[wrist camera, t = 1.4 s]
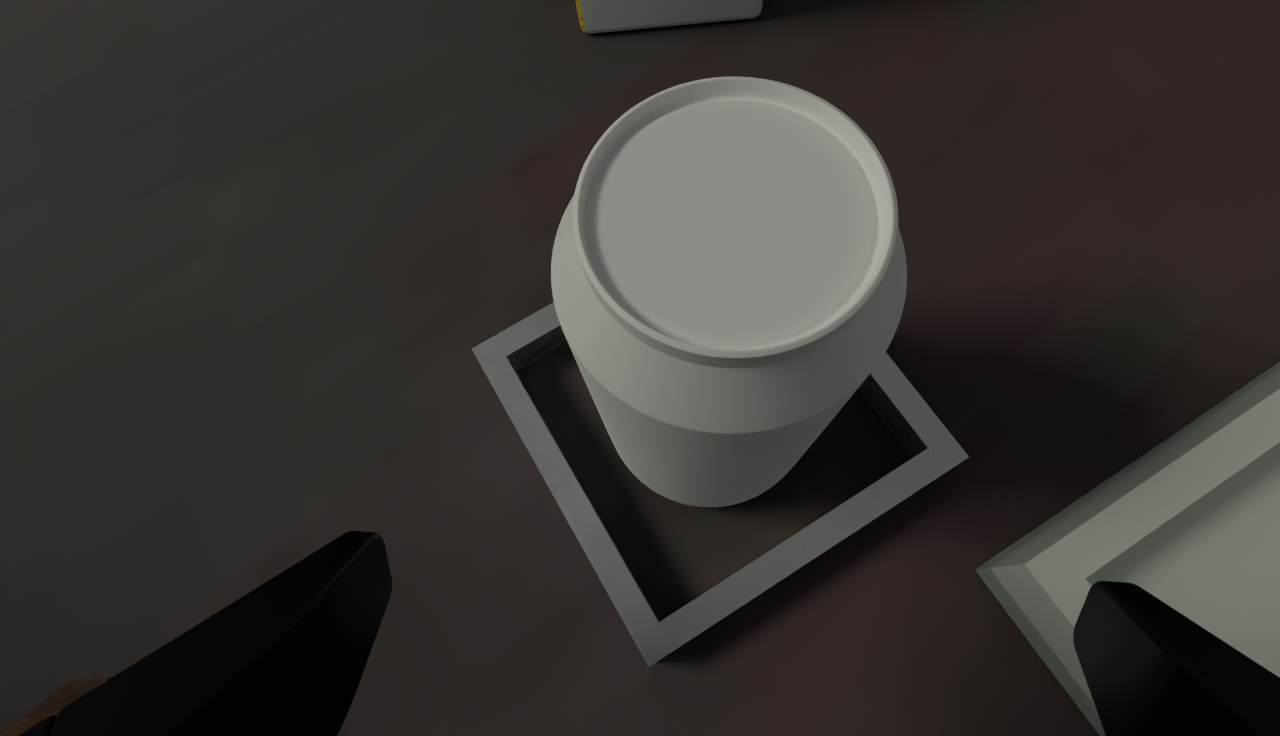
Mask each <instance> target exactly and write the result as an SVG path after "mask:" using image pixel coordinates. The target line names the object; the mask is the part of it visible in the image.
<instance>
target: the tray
mask: <svg viewBox="0 0 1280 736" xmlns="http://www.w3.org/2000/svg"><path fill="white" fill-rule="evenodd" d="M975 570H976V572H977V573H978V574H979V576H980V577H981V578H982V580H983V581H984V582H985V584H986V585H987V586H988V588H989V589H990V590H991V592H992V593H993V594H994V596H995V597H996V598H997V600H998V601H999V602H1000V604H1001V605H1002V606H1003V608H1004V609H1005V610H1006V612H1007V613H1008V614H1009V616H1010V617H1011V618H1012V620H1013V621H1014V622H1015V624H1016V625H1017V626H1018V628H1019V629H1020V630H1021V632H1022V633H1023V634H1024V636H1025V637H1026V638H1027V640H1028V641H1029V642H1030V644H1031V645H1032V646H1033V648H1034V649H1035V650H1036V652H1037V653H1038V654H1039V656H1040V657H1041V658H1042V660H1043V661H1044V662H1045V664H1046V665H1047V666H1048V668H1049V669H1050V670H1051V672H1052V673H1053V674H1054V676H1055V677H1056V678H1057V680H1058V681H1059V682H1060V684H1061V685H1062V686H1063V688H1064V689H1065V690H1066V692H1067V693H1068V694H1069V696H1070V697H1071V698H1072V700H1073V701H1074V702H1075V704H1076V705H1077V706H1078V708H1079V709H1080V710H1081V712H1082V713H1083V714H1084V715H1085V717H1086V718H1087V719H1088V721H1089V722H1090V723H1091V725H1092V726H1093V727H1094V729H1095V730H1096V731H1097V733H1098V734H1099V735H1100V736H1105V733H1104V730H1103V727H1102V724H1101V721H1100V719H1099V716H1098V713H1097V710H1096V707H1095V704H1094V702H1093V699H1092V696H1091V693H1090V690H1089V687H1088V685H1087V682H1086V679H1085V676H1084V673H1083V670H1082V668H1081V665H1080V662H1079V659H1078V656H1077V653H1076V650H1075V647H1074V641H1073V633H1074V627H1075V624H1076V622H1077V619H1078V617H1079V614H1080V612H1081V609H1082V607H1083V604H1084V602H1085V599H1086V597H1087V594H1088V592H1089V590H1090V588H1091V586H1092V585H1093V584H1094V583H1096V582H1098V581H1114V582H1128V583H1133V584H1135V585H1138V586H1139V587H1141V588H1143V589H1144V590H1146V591H1147V592H1149V593H1150V594H1152V595H1153V596H1155V597H1156V598H1158V599H1159V600H1161V601H1163V602H1164V603H1166V604H1167V605H1169V606H1170V607H1172V608H1173V609H1175V610H1176V611H1178V612H1179V613H1181V614H1183V615H1184V616H1186V617H1187V618H1189V619H1190V620H1192V621H1193V622H1195V623H1196V624H1198V625H1200V626H1201V627H1203V628H1204V629H1206V630H1207V631H1209V632H1210V633H1212V634H1213V635H1215V636H1216V637H1218V638H1220V639H1221V640H1223V641H1224V642H1226V643H1227V644H1229V645H1230V646H1232V647H1233V648H1235V649H1237V650H1238V651H1240V652H1241V653H1243V654H1244V655H1246V656H1247V657H1249V658H1250V659H1252V660H1253V661H1255V662H1257V663H1258V664H1260V665H1261V666H1263V667H1264V668H1266V669H1267V670H1269V671H1270V672H1272V673H1274V674H1275V675H1277V676H1278V677H1280V362H1279V363H1277V364H1276V365H1274V366H1273V367H1272V368H1270V369H1269V370H1267V371H1266V372H1264V373H1263V374H1261V375H1260V376H1258V377H1257V378H1255V379H1254V380H1252V381H1251V382H1250V383H1248V384H1247V385H1245V386H1244V387H1242V388H1241V389H1239V390H1238V391H1236V392H1235V393H1233V394H1232V395H1230V396H1229V397H1228V398H1226V399H1225V400H1223V401H1222V402H1220V403H1219V404H1217V405H1216V406H1214V407H1213V408H1211V409H1210V410H1208V411H1207V412H1206V413H1204V414H1203V415H1201V416H1200V417H1198V418H1197V419H1195V420H1194V421H1192V422H1191V423H1189V424H1188V425H1186V426H1185V427H1184V428H1182V429H1181V430H1179V431H1178V432H1176V433H1175V434H1173V435H1172V436H1170V437H1169V438H1167V439H1166V440H1164V441H1163V442H1162V443H1160V444H1159V445H1157V446H1156V447H1154V448H1153V449H1151V450H1150V451H1148V452H1147V453H1145V454H1144V455H1142V456H1141V457H1140V458H1138V459H1137V460H1135V461H1134V462H1132V463H1131V464H1129V465H1128V466H1126V467H1125V468H1123V469H1122V470H1120V471H1119V472H1118V473H1116V474H1115V475H1113V476H1112V477H1110V478H1109V479H1107V480H1106V481H1104V482H1103V483H1101V484H1100V485H1098V486H1097V487H1096V488H1094V489H1093V490H1091V491H1090V492H1088V493H1087V494H1085V495H1084V496H1082V497H1081V498H1079V499H1078V500H1076V501H1075V502H1074V503H1072V504H1071V505H1069V506H1068V507H1066V508H1065V509H1063V510H1062V511H1060V512H1059V513H1057V514H1056V515H1054V516H1053V517H1052V518H1050V519H1049V520H1047V521H1046V522H1044V523H1043V524H1041V525H1040V526H1038V527H1037V528H1035V529H1034V530H1032V531H1031V532H1030V533H1028V534H1027V535H1025V536H1024V537H1022V538H1021V539H1019V540H1018V541H1016V542H1015V543H1013V544H1012V545H1010V546H1009V547H1007V548H1006V549H1005V550H1003V551H1002V552H1000V553H999V554H997V555H996V556H994V557H993V558H991V559H990V560H988V561H987V562H985V563H984V564H983V565H981V566H980V567H978V568H977V569H975Z"/></svg>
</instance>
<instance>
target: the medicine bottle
mask: <svg viewBox="0 0 1280 736" xmlns="http://www.w3.org/2000/svg"><path fill="white" fill-rule="evenodd" d="M762 3H763V0H576V5H577V11H578V16H579V22H580V26H581V28H582V30H583V31H584V32H585V33H589V34H592V33H603V32H613V31H624V30H634V29H645V28H656V27H666V26H677V25H687V24H698V23H708V22H719V21H730V20H740V19H751V18H755V17H757V16H758V15H759V14H760V12H761V10H762Z"/></svg>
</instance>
